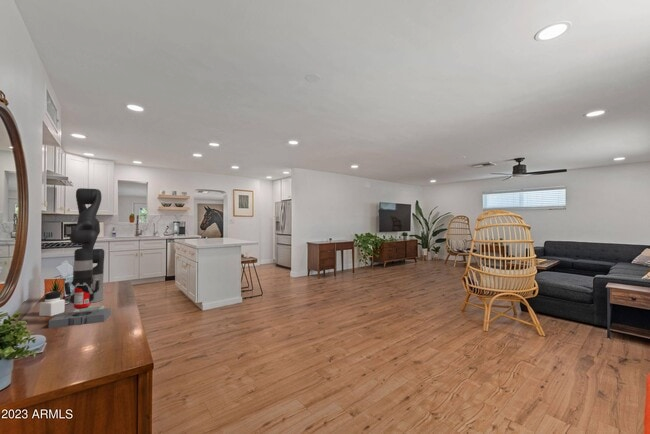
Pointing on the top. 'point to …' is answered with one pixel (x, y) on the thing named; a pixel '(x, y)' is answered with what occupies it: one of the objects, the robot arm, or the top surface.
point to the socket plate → (79, 317)
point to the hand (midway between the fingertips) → (82, 301)
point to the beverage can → (81, 297)
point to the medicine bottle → (52, 304)
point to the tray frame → (89, 308)
